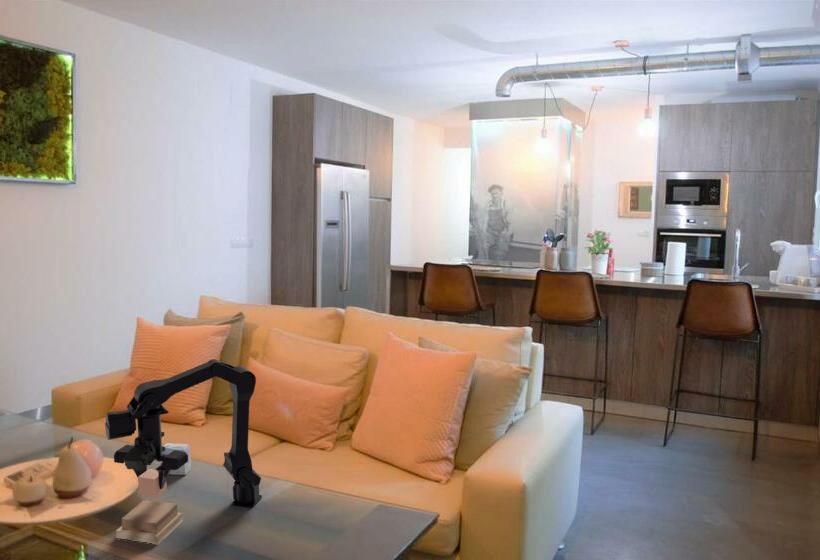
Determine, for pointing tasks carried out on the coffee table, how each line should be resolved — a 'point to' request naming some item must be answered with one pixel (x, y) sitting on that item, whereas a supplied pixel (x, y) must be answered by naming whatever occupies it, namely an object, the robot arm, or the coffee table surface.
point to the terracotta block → (150, 483)
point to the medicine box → (179, 447)
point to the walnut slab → (149, 517)
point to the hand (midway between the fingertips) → (152, 487)
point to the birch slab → (150, 536)
